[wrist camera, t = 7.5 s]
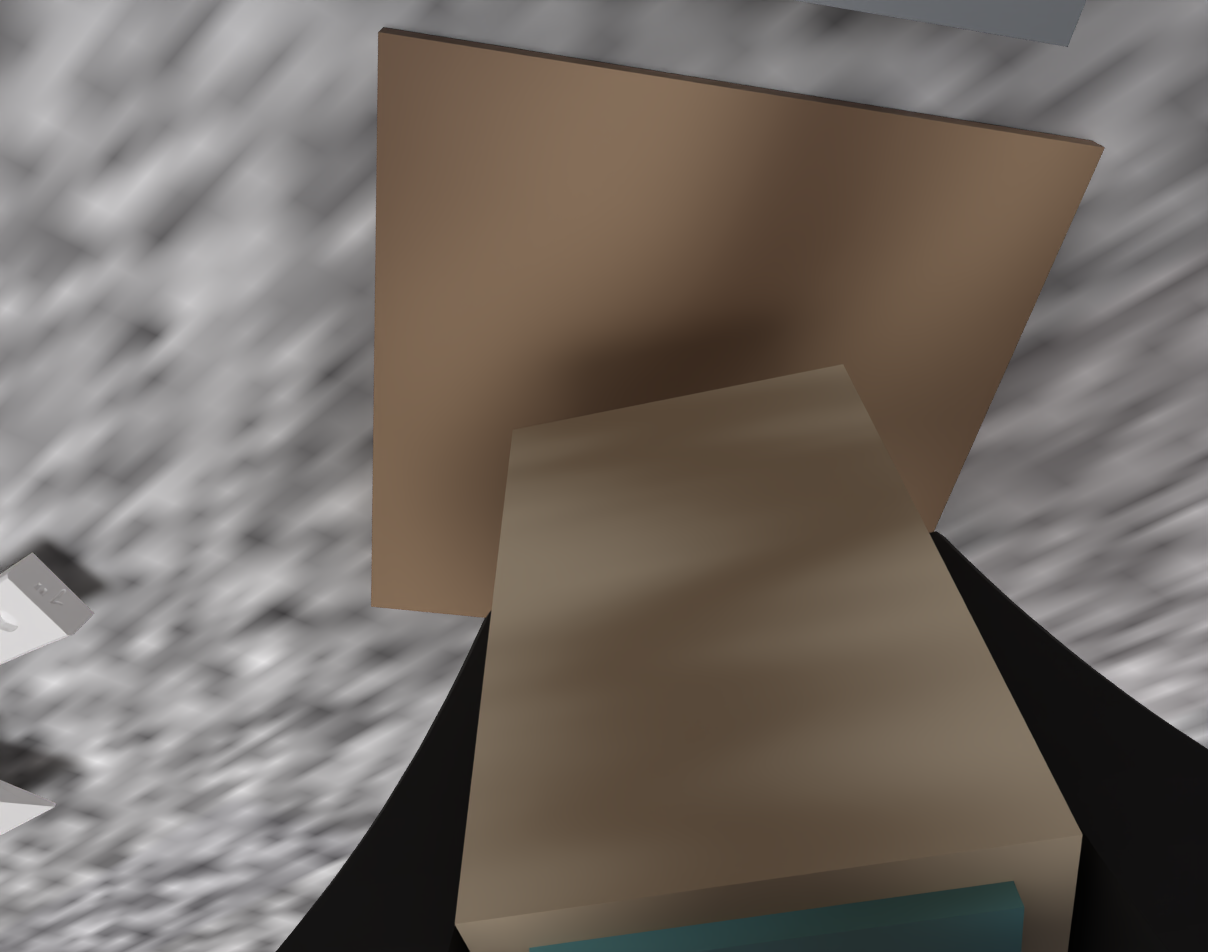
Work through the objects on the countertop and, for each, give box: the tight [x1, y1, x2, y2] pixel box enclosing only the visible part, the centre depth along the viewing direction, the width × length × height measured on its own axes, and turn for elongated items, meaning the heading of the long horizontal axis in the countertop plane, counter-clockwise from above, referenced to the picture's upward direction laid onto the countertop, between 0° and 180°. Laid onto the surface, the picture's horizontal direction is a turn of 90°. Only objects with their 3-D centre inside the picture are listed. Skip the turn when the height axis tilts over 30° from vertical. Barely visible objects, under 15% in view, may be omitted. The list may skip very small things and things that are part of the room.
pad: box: [371, 27, 1104, 618], centre depth 17 cm, size 11×11×1 cm
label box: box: [455, 364, 1082, 952], centre depth 11 cm, size 4×4×7 cm
